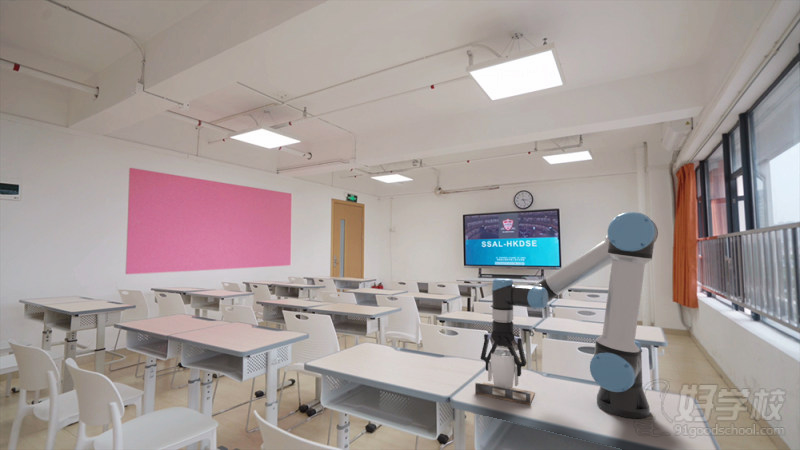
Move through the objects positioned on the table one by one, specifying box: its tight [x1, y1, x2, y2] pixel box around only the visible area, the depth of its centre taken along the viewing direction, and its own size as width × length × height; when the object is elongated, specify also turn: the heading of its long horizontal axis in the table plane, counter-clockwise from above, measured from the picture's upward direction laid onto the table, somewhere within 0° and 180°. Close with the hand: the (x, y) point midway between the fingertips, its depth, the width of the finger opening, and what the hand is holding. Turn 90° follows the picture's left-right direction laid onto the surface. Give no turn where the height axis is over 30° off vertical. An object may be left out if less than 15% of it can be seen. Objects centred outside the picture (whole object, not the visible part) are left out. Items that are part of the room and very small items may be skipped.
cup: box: [490, 349, 516, 389], centre depth 135 cm, size 9×9×12 cm
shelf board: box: [474, 382, 536, 406], centre depth 133 cm, size 19×11×4 cm, turn 62°
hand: (503, 382), depth 135 cm, fingers closed on cup, 9 cm apart
